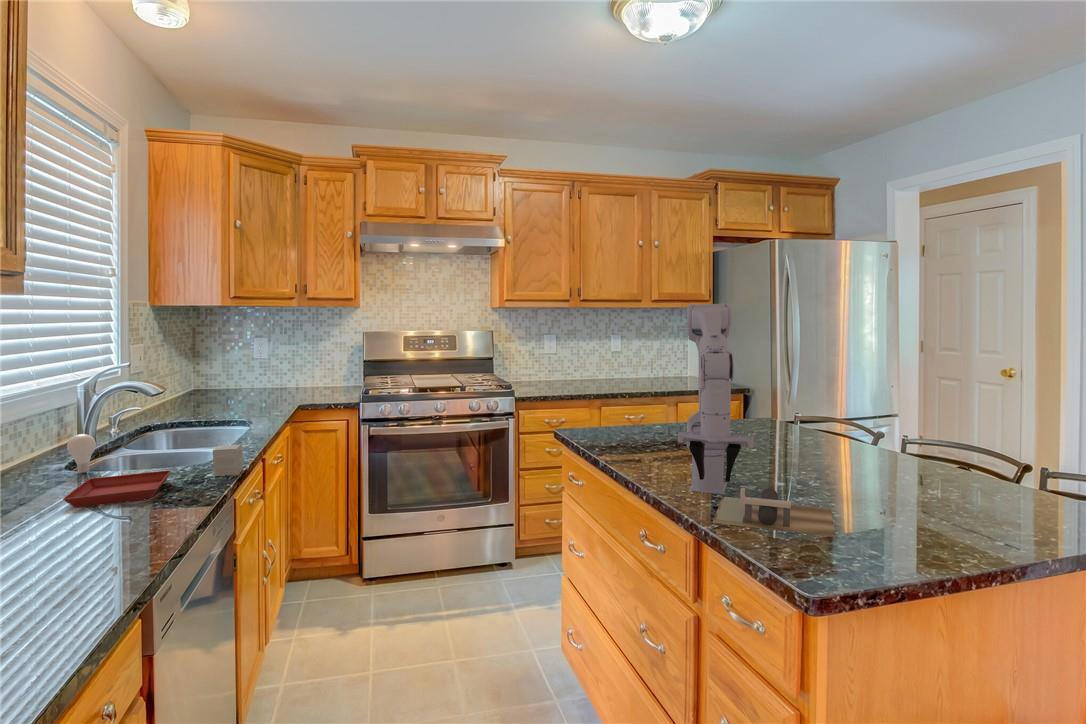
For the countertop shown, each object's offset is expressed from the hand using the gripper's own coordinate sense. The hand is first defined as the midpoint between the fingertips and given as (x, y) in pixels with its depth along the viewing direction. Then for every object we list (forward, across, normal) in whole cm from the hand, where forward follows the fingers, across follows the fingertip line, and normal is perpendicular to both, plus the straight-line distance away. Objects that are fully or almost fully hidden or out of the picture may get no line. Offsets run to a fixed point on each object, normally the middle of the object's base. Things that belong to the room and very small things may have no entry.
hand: (714, 479), depth 120 cm
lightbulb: (+9, -166, -22) cm, 168 cm away
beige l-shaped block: (+4, +10, 0) cm, 10 cm away
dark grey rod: (+8, +10, +6) cm, 14 cm away
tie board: (+8, +11, +6) cm, 15 cm away
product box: (+9, -127, -8) cm, 128 cm away
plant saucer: (+9, -135, -31) cm, 139 cm away
